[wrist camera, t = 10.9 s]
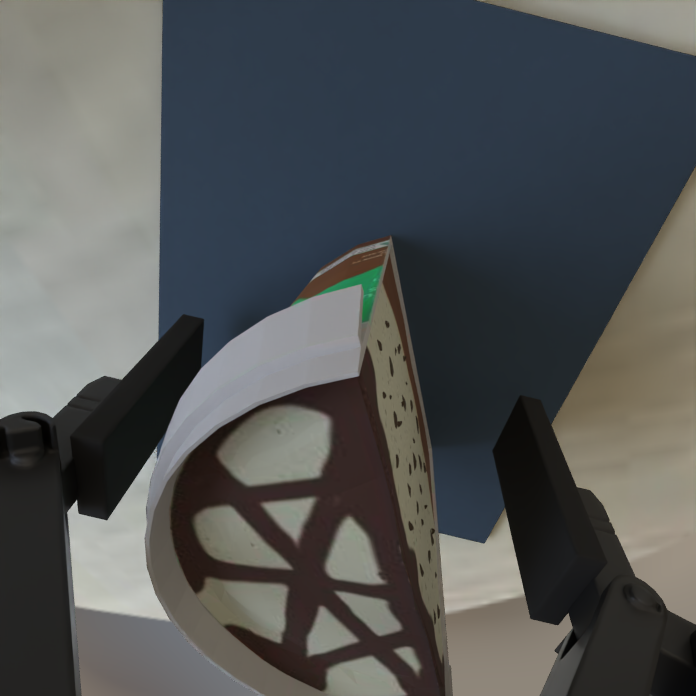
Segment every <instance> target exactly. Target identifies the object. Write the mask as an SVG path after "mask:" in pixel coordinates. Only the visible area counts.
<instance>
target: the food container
mask: <svg viewBox="0 0 696 696" xmlns="http://www.w3.org/2000/svg"><path fill="white" fill-rule="evenodd" d="M146 514H147V528H146V534H145V548H146V560H147V568H148V572H149V575H150V578H151V581H152V584H153V587H154V591H155V594H156V596H157V597H158V599H159V601H160V603H161V605H162V606H163V608H164V610H165V612H166V614H167V616H168V617H169V619H170V620H171V621H172V623H173V624H174V625H175V627H176V628H177V629H178V630H179V632H180V633H181V634H182V635H183V637H184V638H185V639H186V640H187V642H189V644H191V645H192V646H193V647H194V648H195V649H196V650H197V651H198V652H199V653H200V654H201V655H202V656H203V657H204V658H205V659H206V660H207V661H208V662H210V663H211V664H212V665H214V666H215V667H217V668H218V669H219V670H220V671H222V672H223V673H224V674H226V675H227V676H228V677H230V678H231V679H233V680H234V681H236V682H237V683H239V684H241V685H242V686H244V687H246V688H247V689H249V690H251V691H252V692H254V693H256V694H257V695H259V696H453V694H452V677H451V666H450V665H449V660H448V648H447V636H446V623H445V609H444V597H443V584H442V571H441V559H440V546H439V533H438V520H437V508H436V495H435V482H434V470H433V457H432V447H431V441H430V436H429V431H428V426H427V421H426V415H425V410H424V405H423V400H422V395H421V389H420V384H419V379H418V374H417V368H416V363H415V358H414V353H413V348H412V342H411V337H410V332H409V327H408V322H407V316H406V311H405V306H404V301H403V296H402V290H401V285H400V280H399V275H398V269H397V264H396V259H395V254H394V249H393V243H392V238H391V235H390V236H386V237H383V238H379V239H376V240H372V241H369V242H365V243H362V244H358V245H356V246H355V247H353V248H352V249H350V250H348V251H347V252H345V253H344V254H342V255H340V256H339V257H337V258H336V259H334V260H332V261H331V262H329V263H328V264H326V265H324V266H323V267H321V269H320V270H319V271H318V272H317V274H316V275H315V276H314V277H313V278H312V280H311V281H310V282H309V283H308V285H307V286H306V287H305V288H304V290H303V291H302V292H301V293H300V294H299V296H298V297H297V298H296V299H295V301H294V302H293V303H292V305H291V306H290V307H289V308H286V309H284V310H282V311H279V312H277V313H275V314H272V315H270V316H268V317H266V318H265V319H263V320H262V321H260V322H259V323H257V324H255V325H254V326H252V327H251V328H249V329H248V330H246V331H245V332H243V333H242V334H240V335H239V336H237V337H236V338H234V339H232V340H231V341H230V342H228V343H227V344H226V345H225V346H224V347H223V348H222V349H221V350H220V351H219V352H218V353H217V354H216V355H215V356H214V357H213V358H212V359H211V360H210V361H209V362H208V363H206V364H205V365H204V366H203V367H202V368H201V369H200V371H199V372H198V374H197V375H196V376H195V378H194V379H193V381H192V382H191V384H190V385H189V387H188V388H187V389H186V391H185V392H184V394H183V395H182V397H181V398H180V400H179V402H178V405H177V407H176V410H175V412H174V414H173V417H172V419H171V422H170V424H169V426H168V429H167V432H166V435H165V438H164V441H163V444H162V447H161V450H160V453H159V456H158V459H157V462H156V465H155V468H154V471H153V474H152V477H151V482H150V488H149V494H148V500H147V506H146Z"/></svg>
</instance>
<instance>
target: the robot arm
mask: <svg viewBox="0 0 696 696" xmlns="http://www.w3.org/2000/svg"><path fill="white" fill-rule="evenodd" d="M203 332H204V319H202V318H198V317H194V316H190V315H186V314H183V315H182V316H181V317H180V318H179V319H178V320H177V321H176V322H175V323H174V324H173V326H172V327H171V328H170V329H169V330H168V331H167V332H166V333H165V334H164V335H163V336H162V337H161V338H160V340H159V341H158V342H157V343H156V344H155V345H154V346H153V347H152V348H151V349H150V350H149V351H148V352H147V354H146V355H145V356H144V357H143V358H142V359H141V360H140V361H139V362H138V363H137V364H136V365H135V366H134V368H133V369H132V370H131V371H130V372H129V373H128V374H127V375H126V376H125V377H124V378H123V379H122V380H120V379H115V378H111V377H107V376H103V377H101V378H99V379H97V380H95V381H93V382H91V383H89V384H87V385H86V386H85V387H84V388H83V389H82V390H81V391H80V392H79V393H78V394H77V396H76V397H74V398H73V399H72V400H71V401H70V402H69V403H68V405H67V406H65V407H64V408H63V409H62V410H61V411H60V412H59V413H57V414H56V415H55V416H54V417H53V418H51V417H50V416H48V415H47V414H44V413H40V412H35V411H34V412H20V413H15V414H11V415H9V416H6V417H4V418H2V419H0V696H81V684H80V671H79V657H78V644H77V631H76V620H75V605H74V592H73V579H72V566H71V553H70V540H69V527H68V516H67V512H68V510H69V509H70V508H71V506H72V505H73V504H74V503H75V501H76V500H77V503H78V512H79V514H82V515H87V516H91V517H95V518H100V519H104V520H108V518H109V517H110V515H111V514H112V512H113V511H114V509H115V508H116V506H117V505H118V503H119V502H120V500H121V499H122V497H123V496H124V494H125V493H126V491H127V490H128V488H129V487H130V485H131V484H132V482H133V481H134V479H135V478H136V476H137V475H138V473H139V472H140V470H141V469H142V467H143V466H144V464H145V463H146V461H147V460H148V458H149V457H150V455H151V454H152V452H153V451H154V449H155V448H156V446H157V445H158V443H159V442H160V440H161V439H162V438H163V436H164V435H165V433H166V432H167V429H168V426H169V424H170V422H171V419H172V417H173V414H174V412H175V410H176V407H177V405H178V402H179V400H180V398H181V397H182V395H183V394H184V392H185V391H186V389H187V388H188V387H189V385H190V384H191V382H192V381H193V379H194V378H195V376H196V375H197V374H198V372H199V371H200V369H201V362H202V347H203ZM492 452H493V456H494V461H495V465H496V469H497V474H498V478H499V483H500V487H501V491H502V496H503V500H504V504H505V509H506V513H507V518H508V522H509V526H510V531H511V535H512V540H513V544H514V548H515V553H516V557H517V561H518V566H519V570H520V575H521V579H522V583H523V588H524V592H525V596H526V601H527V605H528V610H529V614H530V618H531V619H533V620H538V621H542V622H546V623H550V624H554V625H559V623H560V622H561V621H562V620H563V618H564V617H565V616H566V615H567V614H568V613H569V616H570V620H571V623H572V626H573V629H572V630H571V631H570V632H569V633H568V635H567V636H566V637H565V638H564V640H563V641H562V642H561V643H560V644H559V646H558V647H557V648H556V649H555V652H556V653H558V656H557V658H556V661H555V663H554V665H553V667H552V670H551V672H550V674H549V676H548V679H547V681H546V683H545V685H544V688H543V690H542V692H541V694H540V696H696V625H695V624H693V623H691V622H689V621H687V620H685V619H683V618H681V617H679V616H678V615H675V614H674V613H672V612H670V611H668V610H667V608H666V606H665V604H664V602H663V600H662V599H661V598H660V596H659V595H658V594H657V593H656V591H655V590H654V589H652V588H651V587H650V586H649V585H648V584H647V583H645V582H644V581H642V580H640V579H638V578H636V577H635V574H634V572H633V570H632V568H631V566H630V563H629V561H628V559H627V557H626V555H625V553H624V550H623V548H622V546H621V544H620V542H619V539H618V537H617V535H615V531H614V528H613V526H612V524H611V523H610V522H609V517H608V515H607V513H606V511H605V509H604V506H603V505H602V503H601V502H600V501H599V500H598V499H597V498H596V496H595V495H594V494H593V493H592V492H591V491H590V490H587V489H582V488H578V487H576V484H575V482H574V479H573V477H572V475H571V472H570V470H569V467H568V465H567V462H566V460H565V458H564V455H563V453H562V450H561V448H560V445H559V443H558V441H557V438H556V436H555V433H554V431H553V429H552V426H551V424H550V421H549V419H548V416H547V414H546V412H545V409H544V407H543V404H542V402H541V400H539V399H535V398H531V397H527V396H523V395H520V396H519V398H518V400H517V402H516V404H515V406H514V408H513V410H512V412H511V414H510V416H509V418H508V420H507V422H506V424H505V426H504V428H503V430H502V432H501V434H500V436H499V438H498V440H497V442H496V444H495V446H494V448H493V450H492Z"/></svg>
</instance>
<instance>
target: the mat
mask: <svg viewBox="0 0 696 696" xmlns="http://www.w3.org/2000/svg"><path fill="white" fill-rule="evenodd" d="M695 166H696V56H693V55H689V54H685V53H681V52H677V51H673V50H669V49H666V48H662V47H658V46H654V45H650V44H646V43H642V42H638V41H634V40H630V39H626V38H622V37H618V36H614V35H610V34H606V33H602V32H598V31H594V30H591V29H587V28H583V27H579V26H575V25H571V24H567V23H563V22H559V21H555V20H551V19H547V18H543V17H539V16H535V15H531V14H527V13H523V12H519V11H516V10H512V9H508V8H504V7H500V6H496V5H492V4H488V3H484V2H480V1H476V0H163V32H162V112H161V191H160V271H159V340H160V338H161V337H162V336H163V335H164V334H165V333H166V332H167V331H168V330H169V329H170V328H171V327H172V326H173V324H174V323H175V322H176V321H177V320H178V319H179V318H180V317H181V316H182V315H183V314H186V315H190V316H194V317H198V318H202V319H204V332H203V347H202V362H201V368H202V367H203V366H204V365H205V364H206V363H208V362H209V361H210V360H211V359H212V358H213V357H214V356H215V355H216V354H217V353H218V352H219V351H220V350H221V349H222V348H223V347H224V346H225V345H226V344H227V343H228V342H230V341H231V340H232V339H234V338H236V337H237V336H239V335H240V334H242V333H243V332H245V331H246V330H248V329H249V328H251V327H252V326H254V325H255V324H257V323H259V322H260V321H262V320H263V319H265V318H266V317H268V316H270V315H272V314H275V313H277V312H279V311H282V310H284V309H286V308H289V307H290V306H291V305H292V303H293V302H294V301H295V299H296V298H297V297H298V296H299V294H300V293H301V292H302V291H303V290H304V288H305V287H306V286H307V285H308V283H309V282H310V281H311V280H312V278H313V277H314V276H315V275H316V274H317V272H318V271H319V270H320V269H321V267H323V266H324V265H326V264H328V263H329V262H331V261H332V260H334V259H336V258H337V257H339V256H340V255H342V254H344V253H345V252H347V251H348V250H350V249H352V248H353V247H355V246H356V245H358V244H362V243H365V242H369V241H372V240H376V239H379V238H383V237H386V236H390V235H391V238H392V243H393V249H394V254H395V259H396V264H397V269H398V275H399V280H400V285H401V290H402V296H403V301H404V306H405V311H406V316H407V322H408V327H409V332H410V337H411V342H412V348H413V353H414V358H415V363H416V368H417V374H418V379H419V384H420V389H421V395H422V400H423V405H424V410H425V415H426V421H427V426H428V431H429V436H430V441H431V447H432V457H433V470H434V482H435V495H436V508H437V520H438V533H442V534H446V535H451V536H455V537H459V538H463V539H468V540H472V541H476V542H480V543H485V542H486V540H487V538H488V536H489V535H490V533H491V531H492V529H493V528H494V526H495V524H496V522H497V520H498V519H499V517H500V515H501V513H502V511H503V510H504V508H505V504H504V500H503V496H502V491H501V487H500V483H499V478H498V474H497V469H496V465H495V461H494V456H493V452H492V450H493V448H494V446H495V444H496V442H497V440H498V438H499V436H500V434H501V432H502V430H503V428H504V426H505V424H506V422H507V420H508V418H509V416H510V414H511V412H512V410H513V408H514V406H515V404H516V402H517V400H518V398H519V396H520V395H523V396H527V397H531V398H535V399H539V400H541V402H542V404H543V407H544V409H545V412H546V414H547V416H548V419H549V421H550V424H552V422H553V420H554V418H555V417H556V415H557V413H558V411H559V410H560V408H561V406H562V404H563V402H564V401H565V399H566V397H567V395H568V393H569V392H570V390H571V388H572V386H573V384H574V383H575V381H576V379H577V377H578V376H579V374H580V372H581V370H582V368H583V367H584V365H585V363H586V361H587V359H588V358H589V356H590V354H591V352H592V350H593V349H594V347H595V345H596V343H597V342H598V340H599V338H600V336H601V334H602V333H603V331H604V329H605V327H606V325H607V324H608V322H609V320H610V318H611V317H612V315H613V313H614V311H615V309H616V308H617V306H618V304H619V302H620V300H621V299H622V297H623V295H624V293H625V291H626V290H627V288H628V286H629V284H630V283H631V281H632V279H633V277H634V275H635V274H636V272H637V270H638V268H639V266H640V265H641V263H642V261H643V259H644V258H645V256H646V254H647V252H648V250H649V249H650V247H651V245H652V243H653V241H654V240H655V238H656V236H657V234H658V232H659V231H660V229H661V227H662V225H663V224H664V222H665V220H666V218H667V216H668V215H669V213H670V211H671V209H672V207H673V206H674V204H675V202H676V200H677V199H678V197H679V195H680V193H681V191H682V190H683V188H684V186H685V184H686V182H687V181H688V179H689V177H690V175H691V173H692V172H693V170H694V168H695ZM165 435H166V433H165ZM165 435H164V436H163V438H162V439H161V440H160V442H159V443H158V445H157V459H158V456H159V453H160V450H161V447H162V444H163V441H164V438H165Z"/></svg>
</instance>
